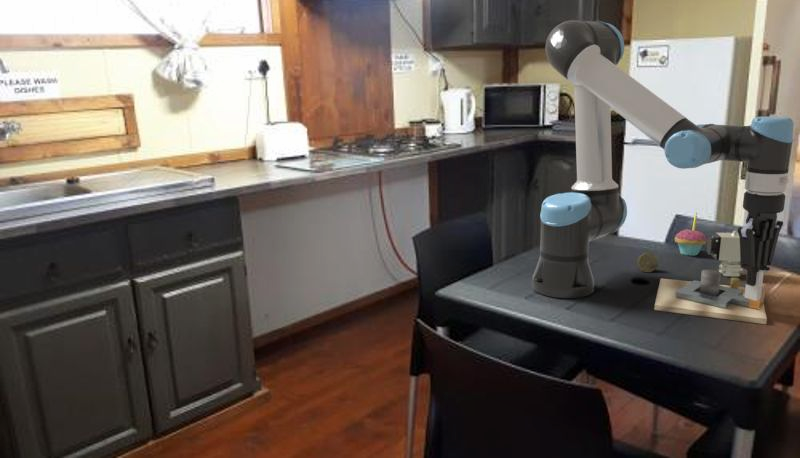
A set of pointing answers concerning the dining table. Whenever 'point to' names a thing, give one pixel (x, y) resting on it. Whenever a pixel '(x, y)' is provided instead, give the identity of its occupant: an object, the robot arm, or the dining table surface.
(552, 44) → the robot arm
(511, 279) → the dining table surface
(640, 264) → the lime
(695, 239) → the cupcake
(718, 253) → the pneumatic valve
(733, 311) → the post board
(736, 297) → the flange plate
